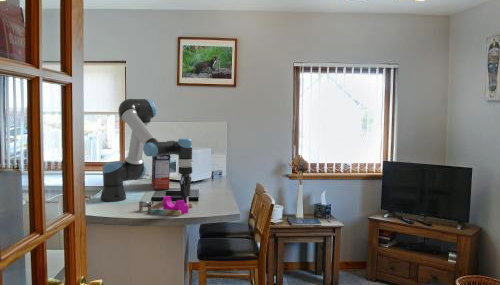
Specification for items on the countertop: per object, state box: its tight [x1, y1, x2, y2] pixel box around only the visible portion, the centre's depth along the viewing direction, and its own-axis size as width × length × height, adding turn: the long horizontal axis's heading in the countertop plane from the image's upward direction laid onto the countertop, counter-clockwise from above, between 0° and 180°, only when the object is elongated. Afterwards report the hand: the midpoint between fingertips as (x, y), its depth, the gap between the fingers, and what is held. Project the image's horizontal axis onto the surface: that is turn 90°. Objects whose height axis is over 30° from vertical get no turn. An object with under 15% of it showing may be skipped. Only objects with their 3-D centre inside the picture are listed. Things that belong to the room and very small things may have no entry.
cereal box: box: [151, 155, 171, 191], centre depth 301 cm, size 27×11×32 cm, turn 17°
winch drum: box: [138, 200, 155, 212], centre depth 234 cm, size 7×5×5 cm, turn 79°
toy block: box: [162, 195, 189, 215], centre depth 232 cm, size 15×6×8 cm, turn 45°
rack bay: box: [147, 199, 194, 217], centre depth 234 cm, size 18×20×3 cm
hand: (185, 208), depth 233 cm, fingers closed
